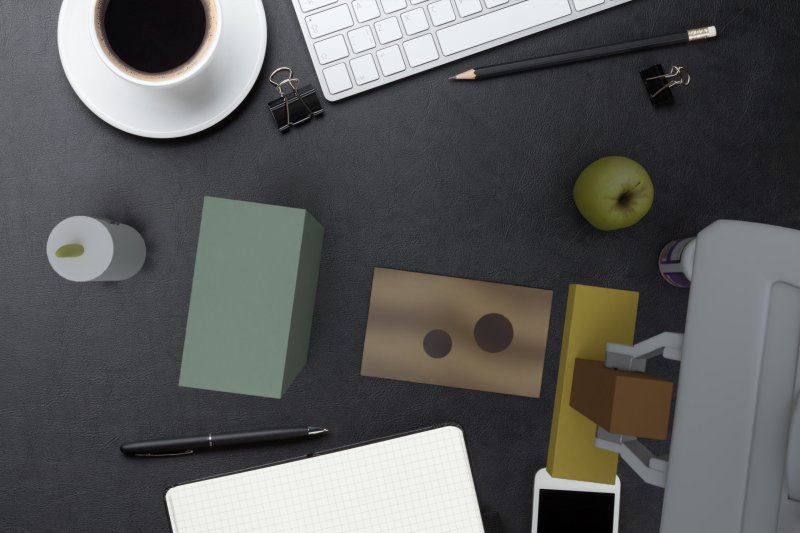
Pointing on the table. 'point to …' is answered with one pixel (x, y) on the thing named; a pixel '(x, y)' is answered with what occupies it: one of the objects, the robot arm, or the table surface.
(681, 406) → the robot arm
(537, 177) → the table surface
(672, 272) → the pill bottle
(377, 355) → the mat
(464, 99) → the table surface
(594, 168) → the apple
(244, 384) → the tall sage green box
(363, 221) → the table surface
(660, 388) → the wiper
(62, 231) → the candle
